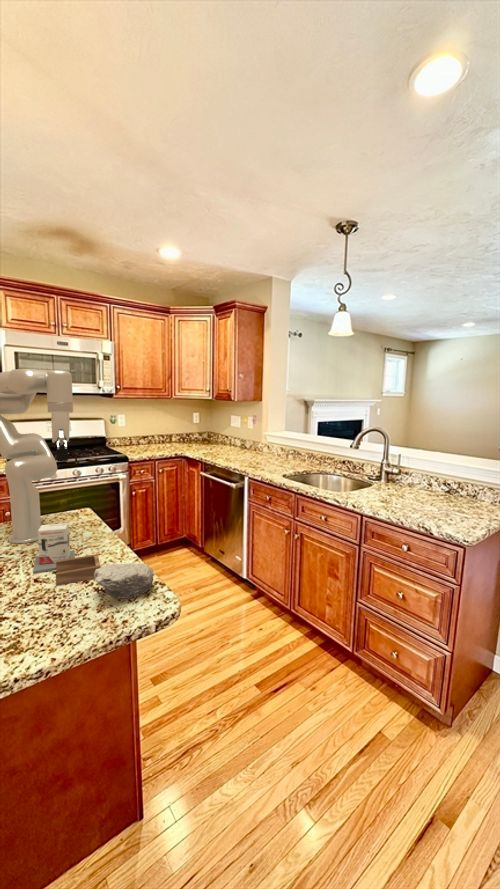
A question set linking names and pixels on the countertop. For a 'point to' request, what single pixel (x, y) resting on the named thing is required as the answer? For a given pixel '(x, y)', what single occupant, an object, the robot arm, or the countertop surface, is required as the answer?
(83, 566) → the cradle
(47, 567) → the mat
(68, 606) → the countertop surface
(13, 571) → the countertop surface
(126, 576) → the rock
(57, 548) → the ink box
